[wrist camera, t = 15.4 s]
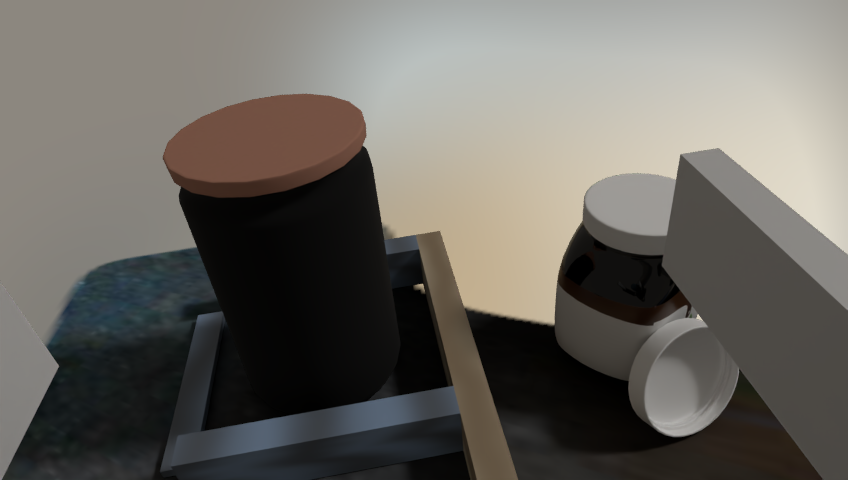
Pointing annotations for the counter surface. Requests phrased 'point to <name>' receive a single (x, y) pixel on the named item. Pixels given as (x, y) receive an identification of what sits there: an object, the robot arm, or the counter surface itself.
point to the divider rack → (357, 423)
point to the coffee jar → (292, 245)
